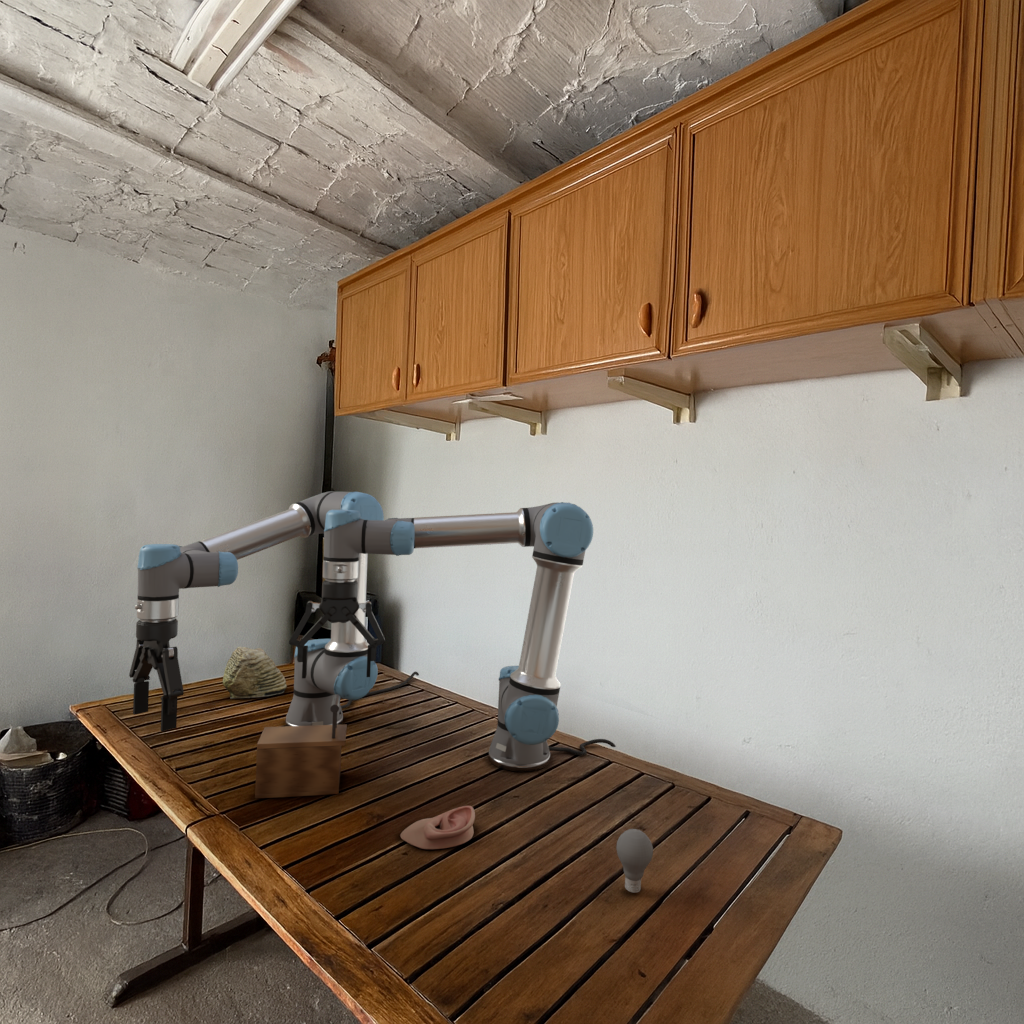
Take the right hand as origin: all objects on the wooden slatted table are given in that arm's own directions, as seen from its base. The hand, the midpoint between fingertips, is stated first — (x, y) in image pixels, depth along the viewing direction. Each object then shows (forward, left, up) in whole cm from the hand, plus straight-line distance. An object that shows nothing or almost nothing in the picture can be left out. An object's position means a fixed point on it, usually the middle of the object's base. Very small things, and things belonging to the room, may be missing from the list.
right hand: (336, 676), depth 139 cm
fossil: (+16, -69, -24) cm, 75 cm away
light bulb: (-43, +54, -24) cm, 73 cm away
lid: (+6, -1, -14) cm, 15 cm away
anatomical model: (-17, +27, -24) cm, 40 cm away
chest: (+7, -1, -24) cm, 25 cm away
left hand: (+36, -6, -9) cm, 37 cm away
